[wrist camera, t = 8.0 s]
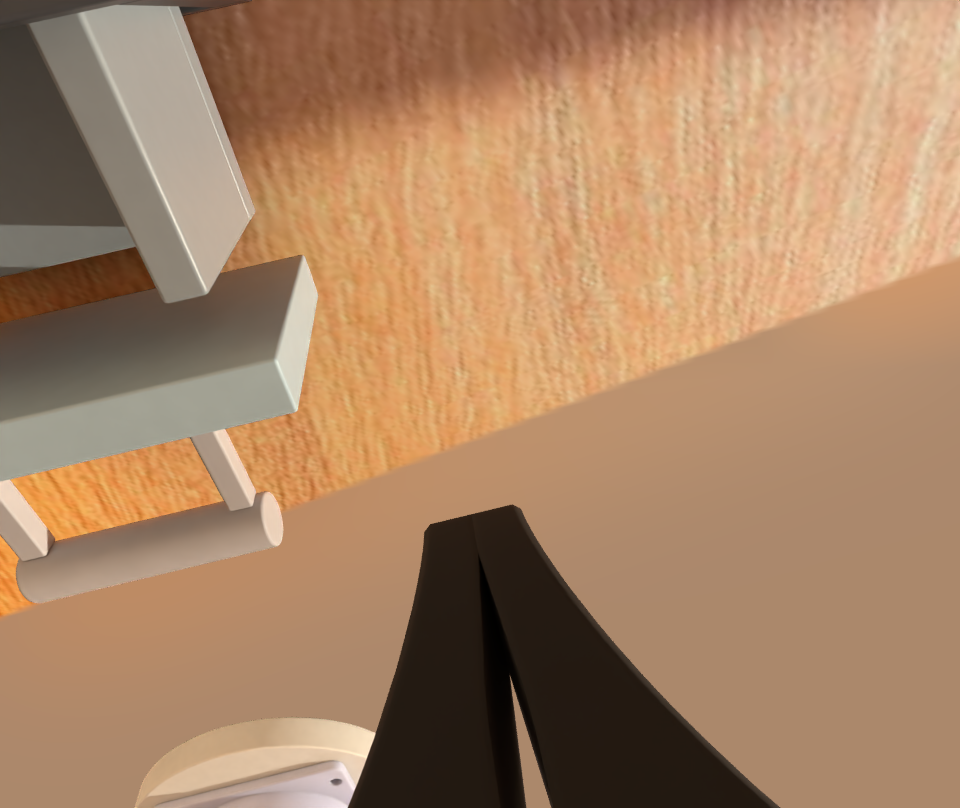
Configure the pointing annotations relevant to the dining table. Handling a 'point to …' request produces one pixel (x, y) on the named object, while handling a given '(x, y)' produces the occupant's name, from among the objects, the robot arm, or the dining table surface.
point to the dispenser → (90, 8)
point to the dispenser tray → (138, 316)
